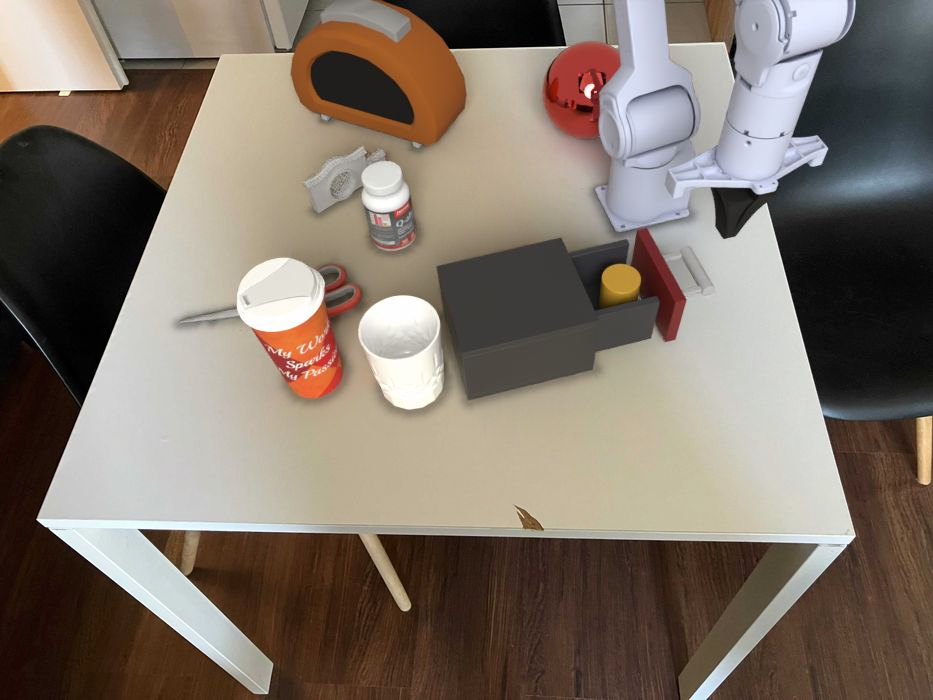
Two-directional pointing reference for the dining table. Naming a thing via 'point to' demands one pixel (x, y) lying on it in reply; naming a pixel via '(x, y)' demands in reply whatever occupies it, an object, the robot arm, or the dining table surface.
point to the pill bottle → (388, 206)
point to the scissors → (330, 294)
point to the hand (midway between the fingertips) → (725, 231)
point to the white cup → (404, 349)
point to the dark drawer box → (518, 317)
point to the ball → (578, 87)
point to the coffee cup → (292, 324)
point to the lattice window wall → (332, 169)
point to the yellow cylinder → (619, 286)
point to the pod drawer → (656, 288)
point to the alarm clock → (379, 71)
